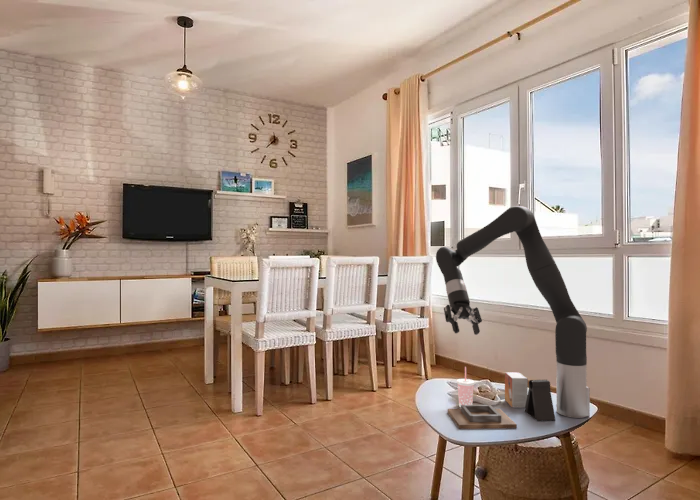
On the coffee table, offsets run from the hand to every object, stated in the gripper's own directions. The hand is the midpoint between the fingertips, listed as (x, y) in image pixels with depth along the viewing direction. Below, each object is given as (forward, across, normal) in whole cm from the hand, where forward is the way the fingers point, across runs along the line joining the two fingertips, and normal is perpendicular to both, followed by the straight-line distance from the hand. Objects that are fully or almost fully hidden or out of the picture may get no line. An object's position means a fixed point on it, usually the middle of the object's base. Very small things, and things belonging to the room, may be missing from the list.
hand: (467, 333), depth 159 cm
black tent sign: (+30, +18, -3) cm, 35 cm away
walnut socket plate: (+30, -2, +1) cm, 30 cm away
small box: (+23, +19, +8) cm, 31 cm away
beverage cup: (+23, +1, +12) cm, 26 cm away
